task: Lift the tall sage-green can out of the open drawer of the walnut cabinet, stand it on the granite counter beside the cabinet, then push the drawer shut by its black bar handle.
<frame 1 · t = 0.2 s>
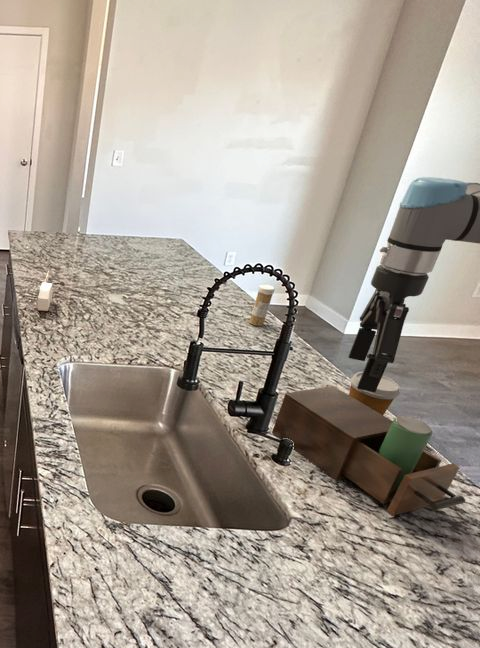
hand: (360, 373, 103), 23 cm above the countertop, tool pointing down, fingers open, 13 cm apart
cabinet: (325, 450, 119), on the countertop
drawer: (396, 471, 105), point 5 cm above the countertop, slide at 10.0 cm, touching green can
green can: (385, 482, 107), point 2 cm above the countertop, touching drawer
sprinkles bottle: (255, 324, 181), on the countertop
disposable coffee cup: (358, 424, 129), on the countertop
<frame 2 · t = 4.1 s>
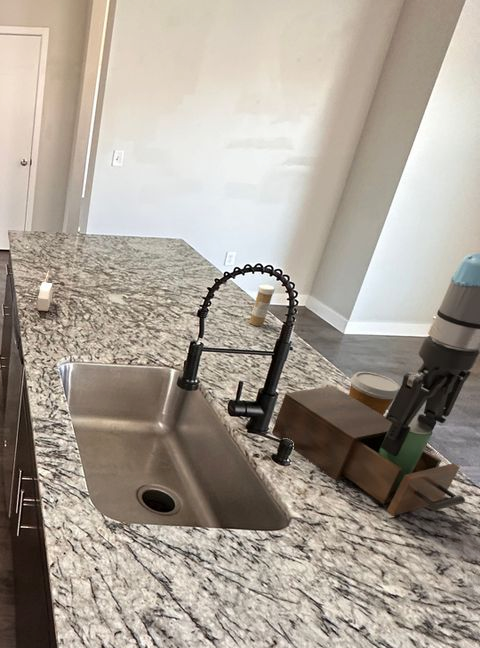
hand: (401, 448, 104), 10 cm above the countertop, tool pointing down, fingers closed on green can, 6 cm apart
green can: (385, 482, 107), point 2 cm above the countertop, touching drawer, gripper
everything else where it was.
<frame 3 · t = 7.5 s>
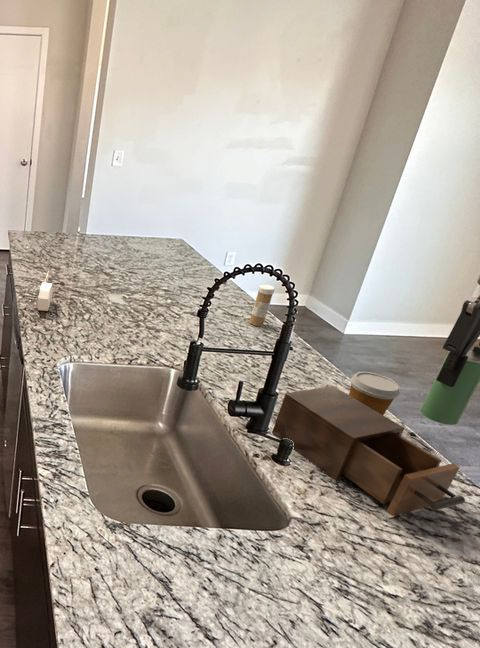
hand: (456, 380, 104), 22 cm above the countertop, tool pointing down, fingers closed on green can, 6 cm apart
drawer: (396, 471, 105), point 5 cm above the countertop, slide at 10.0 cm
green can: (438, 416, 108), point 14 cm above the countertop, touching gripper
everything else where it was.
when the fingers open (8 cm above the countertop, at t = 11.0 s): green can stays where it is, on the countertop.
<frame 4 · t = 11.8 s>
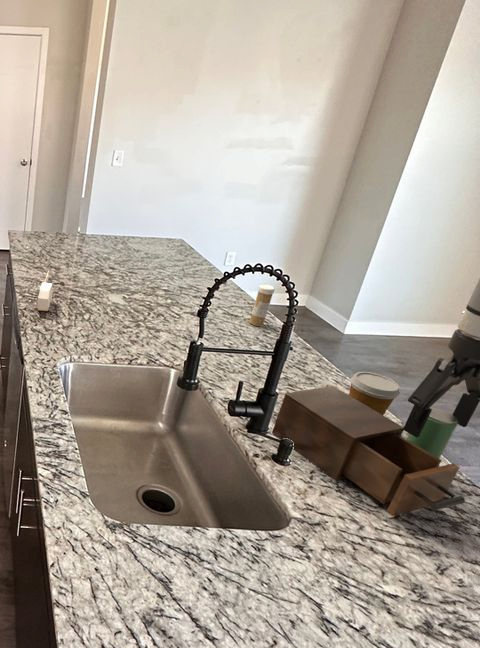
hand: (434, 428, 110), 11 cm above the countertop, tool pointing down, fingers open, 13 cm apart
green can: (412, 469, 114), on the countertop
everything else where it was.
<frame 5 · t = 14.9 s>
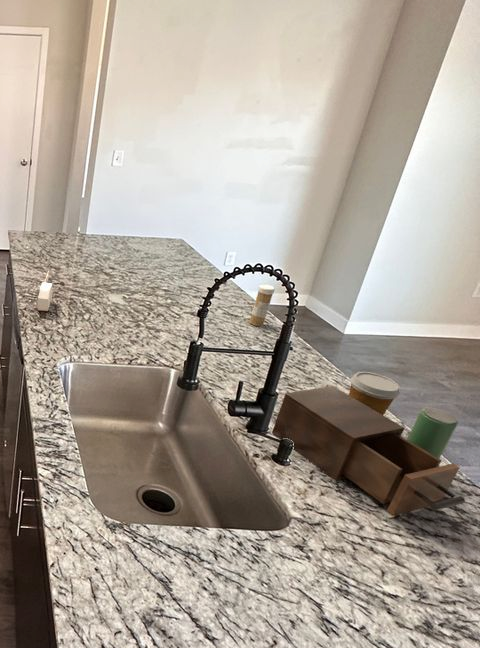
nothing on the countertop moved.
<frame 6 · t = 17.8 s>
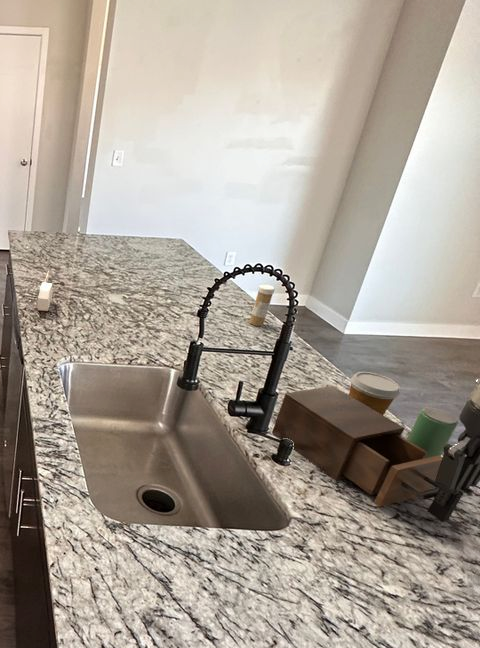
hand: (437, 515, 99), 3 cm above the countertop, tool pointing down, fingers closed
drawer: (384, 463, 107), point 5 cm above the countertop, slide at 7.5 cm
everything else where it was.
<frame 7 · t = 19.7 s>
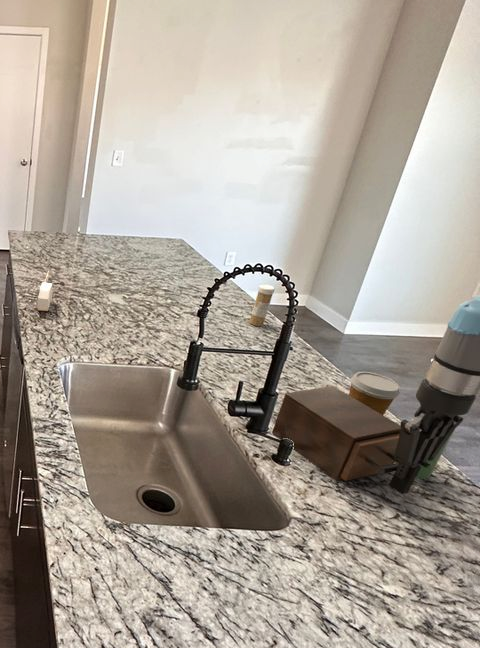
hand: (398, 489, 105), 2 cm above the countertop, tool pointing down, fingers closed
drawer: (350, 441, 113), point 5 cm above the countertop, slide at 0.1 cm
everything else where it was.
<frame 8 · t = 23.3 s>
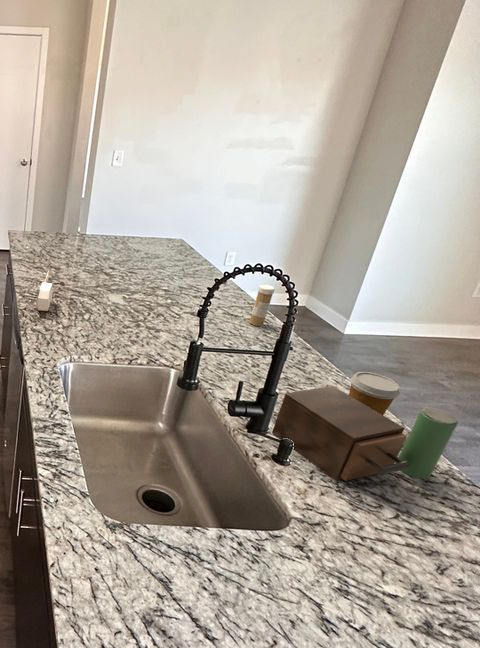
nothing on the countertop moved.
at the end: green can inside the target area (0.1 cm from its centre), on the countertop; green can tilted 0°; drawer slide at 0.1 cm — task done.
